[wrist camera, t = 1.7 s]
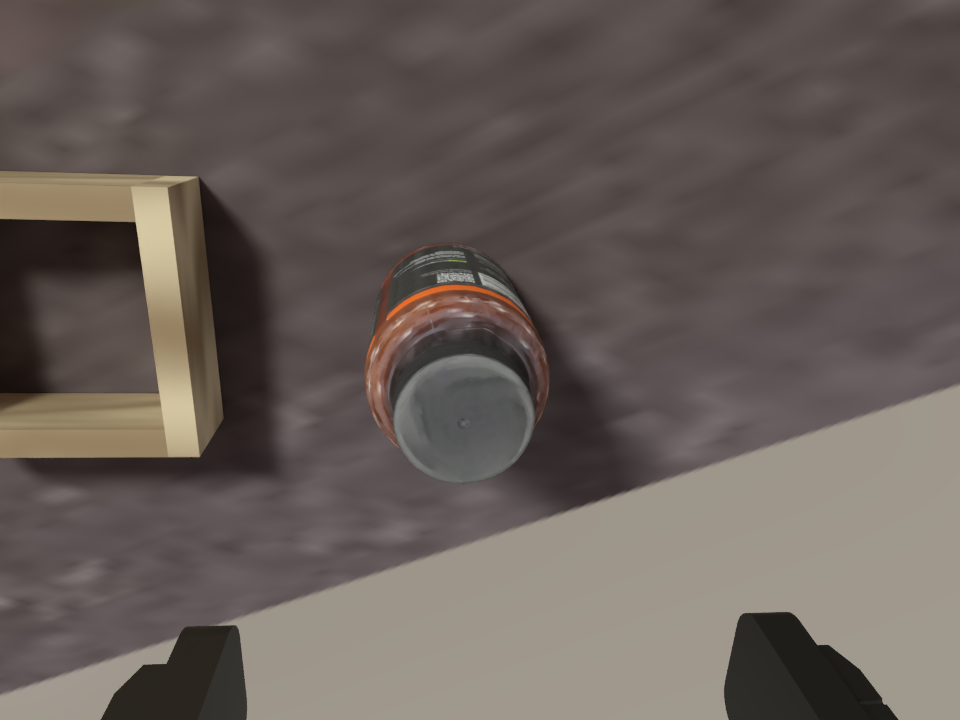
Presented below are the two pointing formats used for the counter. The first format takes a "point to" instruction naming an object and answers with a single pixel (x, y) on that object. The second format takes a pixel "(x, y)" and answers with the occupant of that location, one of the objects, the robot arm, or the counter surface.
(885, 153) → the counter surface
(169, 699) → the robot arm
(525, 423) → the supplement bottle
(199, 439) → the wooden socket
